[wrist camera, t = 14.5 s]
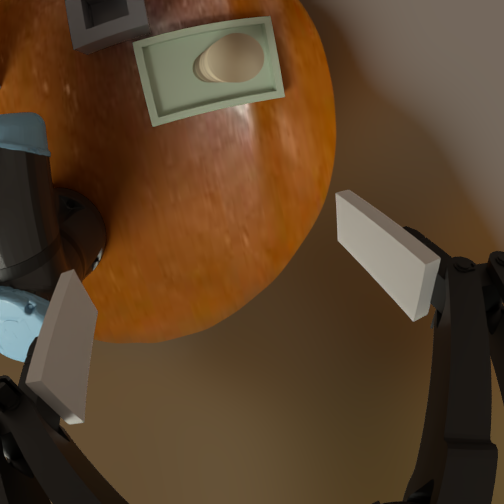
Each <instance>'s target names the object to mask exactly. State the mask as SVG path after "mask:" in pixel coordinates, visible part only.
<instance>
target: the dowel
mask: <svg viewBox="0 0 504 504" xmlns="http://www.w3.org/2000/svg"><path fill="white" fill-rule="evenodd" d="M263 64H264V52H263V49H262V47H261V45H260V44H259V42H258V41H257V40H256V39H254V38H253V37H251V36H249V35H247V34H243V33H232V34H228V35H226V36H224V37H222V38H221V39H219V40H218V41H217V42H215V43H214V44H213V45H211V46H210V47H209V48H207V49H206V50H205V51H204V52H202V53H201V54H200V55H199V56H198V57H197V58H196V59H195V60H194V62H193V73H194V75H195V76H196V78H198V79H199V80H200V81H203V82H208V83H210V82H235V83H239V82H245V81H248V80H250V79H252V78H254V77H255V76H256V75H257V74H258V73H259V72H260V70H261V69H262V67H263Z"/></svg>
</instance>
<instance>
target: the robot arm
mask: <svg viewBox="0 0 504 504" xmlns="http://www.w3.org/2000/svg"><path fill="white" fill-rule="evenodd" d="M49 157H51V153H50V151H48V144H47V136H46V126H45V122H44V120H43V119H42V117H41V116H39V115H38V114H36V113H32V112H24V113H10V114H0V353H1V354H3V355H5V356H7V357H9V358H11V359H14V360H17V361H21V362H24V364H25V365H24V366H23V369H22V373H21V377H20V380H19V384H18V386H17V385H16V384H15V383H14V382H13V381H12V380H11V379H10V377H8V376H6V375H3V376H0V504H51V502H52V503H53V504H129V503H128V502H127V501H126V500H125V499H124V498H123V497H122V496H121V495H120V494H119V493H118V492H117V491H116V490H115V489H114V488H113V487H112V486H111V485H110V484H109V483H108V482H107V480H106V479H105V478H104V477H103V476H102V475H101V474H100V473H99V472H98V471H97V469H96V468H95V467H94V466H93V465H92V464H91V462H90V461H89V460H88V459H87V458H86V456H85V455H84V454H83V453H82V452H81V450H80V449H79V448H78V447H77V445H76V444H75V443H74V442H73V440H72V439H71V438H70V436H69V435H68V433H67V432H66V431H65V429H64V428H63V427H61V426H60V425H59V423H60V417H61V418H62V419H63V420H64V421H66V422H67V423H68V424H76V423H84V417H85V403H86V392H87V382H88V373H89V365H90V357H91V350H92V343H93V337H94V331H95V325H96V319H97V314H98V311H97V309H96V308H95V306H94V304H93V303H92V301H91V299H90V297H89V296H88V294H87V292H86V290H85V289H84V287H83V285H82V281H83V280H84V279H85V278H86V277H87V276H88V275H89V274H90V273H91V272H92V271H93V270H94V269H95V268H96V267H97V265H98V264H99V262H100V260H101V258H102V255H103V251H104V248H105V243H106V230H105V225H104V222H103V219H102V217H101V215H100V213H99V211H98V210H97V208H96V207H95V206H94V205H93V203H92V202H91V201H90V200H88V199H87V198H86V197H85V196H83V195H82V194H80V193H78V192H76V191H73V190H70V189H66V188H53V186H52V178H51V169H50V159H49ZM336 209H337V231H338V241H339V242H340V243H341V244H342V245H343V246H344V247H345V248H346V249H347V251H349V253H351V255H352V256H353V257H354V258H355V259H356V260H357V261H358V262H359V263H360V264H361V265H362V266H363V267H364V268H365V269H366V270H367V271H368V272H369V273H370V274H371V276H372V277H373V278H374V279H375V280H376V281H377V282H378V283H379V284H380V285H381V286H382V287H383V289H384V290H385V291H386V292H387V293H388V294H389V295H390V296H391V297H392V298H393V299H394V301H395V302H396V303H397V304H398V305H399V306H400V307H401V308H402V309H403V311H404V312H405V313H406V314H407V315H408V316H409V317H410V318H411V320H412V321H416V320H417V319H420V318H421V317H423V316H425V315H427V314H428V311H429V306H430V303H431V304H432V305H433V306H434V307H435V308H436V311H435V314H434V318H433V321H432V324H431V328H433V326H434V338H433V339H434V340H433V355H432V367H431V377H430V387H429V395H428V402H427V409H426V416H425V422H424V428H423V433H422V438H421V443H420V449H419V453H418V458H417V462H416V466H415V469H414V472H413V474H412V476H411V478H410V480H409V483H408V485H407V488H406V491H405V494H404V498H403V501H400V502H388V503H383V504H491V501H492V496H493V489H494V483H495V476H496V469H497V459H498V449H497V447H496V445H495V444H493V443H492V442H491V440H490V431H491V403H492V401H491V400H492V398H491V397H492V395H491V391H492V390H491V362H490V356H491V359H492V362H493V366H494V369H495V373H496V376H497V380H498V384H499V387H500V391H501V395H502V400H503V403H504V306H503V304H502V303H504V252H501V251H495V252H492V253H491V254H490V256H489V260H488V263H484V264H477V265H476V264H475V263H474V262H473V261H471V260H469V259H468V258H464V257H453V258H451V256H449V255H448V254H447V253H445V252H444V251H443V250H442V249H441V248H439V247H438V246H437V245H435V244H434V243H433V242H431V241H430V240H429V239H428V238H425V237H424V235H422V234H421V233H420V232H418V231H417V230H415V229H412V228H410V227H407V226H405V227H401V226H399V225H398V224H397V223H395V222H394V221H393V220H391V219H390V218H388V217H387V216H386V215H384V214H383V213H382V212H380V211H379V210H377V209H376V208H375V207H373V206H372V205H370V204H369V203H368V202H366V201H364V200H363V199H362V198H360V197H359V196H358V195H356V194H355V193H353V192H352V191H350V190H345V191H341V192H337V193H336ZM5 457H6V458H7V460H6V458H5ZM50 500H51V502H50ZM373 504H380V502H379V501H377V502H375V503H373Z"/></svg>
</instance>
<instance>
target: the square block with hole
mask: <svg viewBox="0 0 504 504" xmlns="http://www.w3.org/2000/svg"><path fill="white" fill-rule="evenodd" d="M65 4H66V11H67V17H68V23H69V29H70V34H71V40H72V45H73V50H75V51H78V52H81V53H84V54H87V55H88V54H91V53H93V52H96V51H99V50H101V49H104V48H107V47H110V46H112V45H115V44H118V43H121V42H124V41H128V40H131V39H134V38H137V37H141V36H144V35H148V34H151V30H150V25H149V20H148V15H147V10H146V5H145V0H65Z"/></svg>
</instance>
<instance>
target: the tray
mask: <svg viewBox="0 0 504 504" xmlns="http://www.w3.org/2000/svg"><path fill="white" fill-rule="evenodd" d="M232 33H243V34H247V35H249V36H251V37H253V38H254V39H256V40H257V41H258V42H259V44H260V45H261V47H262V49H263V52H264V64H263V67H262V69H261V70H260V72H259V73H258V74H257V75H256V76H255V77H254V78H252V79H250V80H248V81H245V82H239V83H235V82H210V83H208V82H203V81H200V80H199V79H198V78H196V76H195V75H194V73H193V62H194V60H195V59H196V58H197V57H198V56H199V55H200V54H201V53H202V52H204V51H205V50H206V49H207V48H209V47H210V46H211V45H213V44H214V43H215V42H217V41H218V40H219V39H221V38H222V37H224V36H226V35H228V34H232ZM132 43H133V48H134V53H135V57H136V62H137V66H138V70H139V75H140V79H141V83H142V87H143V91H144V95H145V99H146V103H147V107H148V111H149V115H150V119H151V123H152V127H155V126H158V125H162V124H165V123H168V122H172V121H175V120H179V119H183V118H187V117H190V116H194V115H198V114H202V113H206V112H210V111H215V110H219V109H223V108H228V107H233V106H237V105H242V104H247V103H252V102H258V101H263V100H269V99H275V98H281V97H285V94H284V88H283V82H282V76H281V70H280V65H279V59H278V53H277V48H276V43H275V37H274V32H273V27H272V22H271V17H270V16H265V17H254V18H245V19H237V20H230V21H223V22H217V23H211V24H206V25H200V26H195V27H190V28H186V29H181V30H177V31H172V32H168V33H164V34H160V35H157V36H153V37H149V38H146V39H142V40H139V41H136V42H132Z"/></svg>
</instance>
